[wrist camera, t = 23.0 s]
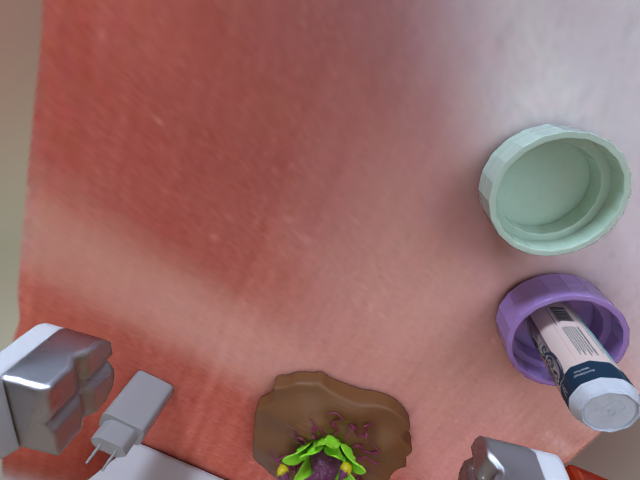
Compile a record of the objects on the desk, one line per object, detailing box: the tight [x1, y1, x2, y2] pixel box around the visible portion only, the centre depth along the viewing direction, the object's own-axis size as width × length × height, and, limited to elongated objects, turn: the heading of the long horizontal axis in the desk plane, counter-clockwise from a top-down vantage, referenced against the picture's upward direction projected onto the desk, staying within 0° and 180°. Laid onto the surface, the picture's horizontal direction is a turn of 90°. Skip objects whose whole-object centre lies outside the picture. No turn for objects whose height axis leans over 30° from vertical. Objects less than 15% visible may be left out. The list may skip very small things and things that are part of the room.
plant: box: [253, 372, 412, 480], centre depth 47 cm, size 20×20×11 cm
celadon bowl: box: [478, 124, 631, 256], centre depth 33 cm, size 10×10×4 cm
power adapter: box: [85, 371, 174, 471], centre depth 48 cm, size 3×5×12 cm, turn 63°
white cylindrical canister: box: [525, 302, 640, 432], centre depth 34 cm, size 5×5×12 cm
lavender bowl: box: [496, 273, 629, 386], centre depth 38 cm, size 10×10×4 cm
